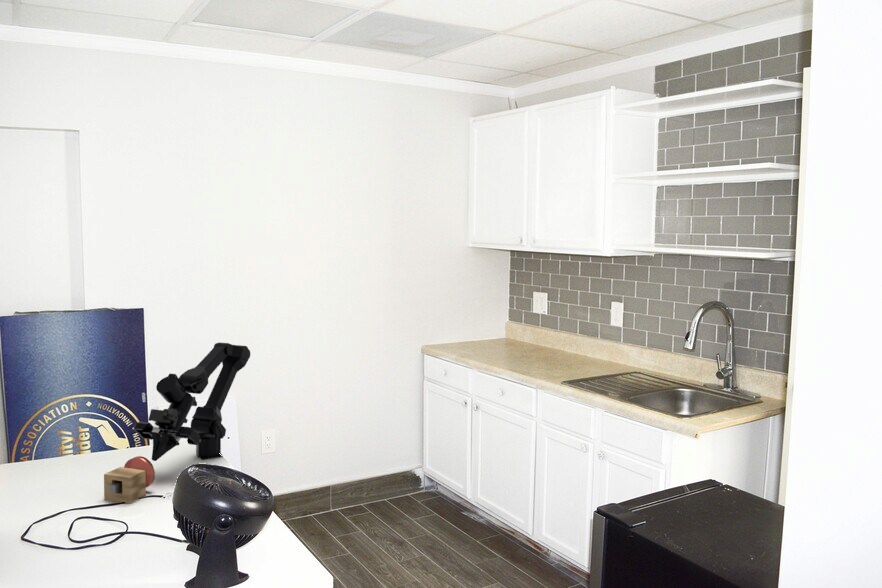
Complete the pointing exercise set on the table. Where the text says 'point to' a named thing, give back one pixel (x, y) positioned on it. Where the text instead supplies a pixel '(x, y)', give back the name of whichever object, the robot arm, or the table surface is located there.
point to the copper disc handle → (139, 464)
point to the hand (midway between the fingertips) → (153, 460)
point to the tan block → (125, 484)
